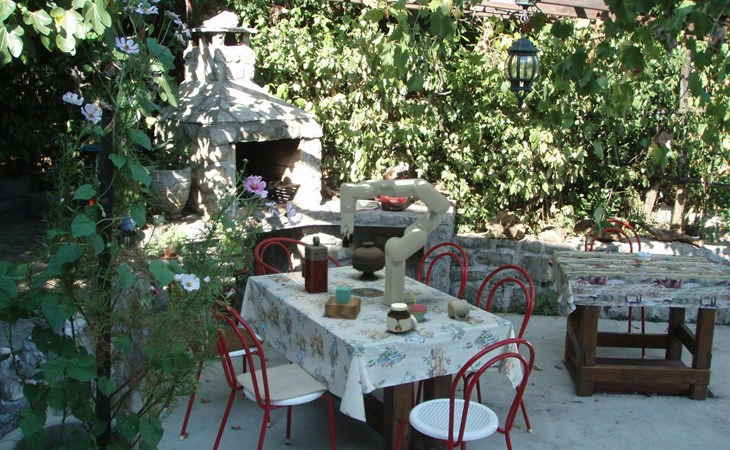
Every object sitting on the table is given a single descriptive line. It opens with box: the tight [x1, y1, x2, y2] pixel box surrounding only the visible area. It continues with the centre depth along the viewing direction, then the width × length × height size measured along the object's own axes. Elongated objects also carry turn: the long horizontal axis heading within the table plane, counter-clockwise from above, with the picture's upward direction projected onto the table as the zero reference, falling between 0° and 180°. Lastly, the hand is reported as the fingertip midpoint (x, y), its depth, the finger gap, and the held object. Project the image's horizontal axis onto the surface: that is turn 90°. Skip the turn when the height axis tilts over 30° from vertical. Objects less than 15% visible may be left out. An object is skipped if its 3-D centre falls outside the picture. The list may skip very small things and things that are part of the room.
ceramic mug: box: [446, 299, 470, 321], centre depth 349 cm, size 11×8×8 cm
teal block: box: [335, 285, 352, 303], centre depth 351 cm, size 6×6×6 cm
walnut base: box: [324, 295, 362, 320], centre depth 353 cm, size 14×14×6 cm
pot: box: [351, 241, 385, 282], centre depth 415 cm, size 18×18×20 cm
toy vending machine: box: [301, 235, 329, 295], centre depth 388 cm, size 9×11×28 cm
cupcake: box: [407, 295, 428, 322], centre depth 345 cm, size 9×8×12 cm
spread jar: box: [386, 303, 419, 335], centre depth 329 cm, size 12×11×12 cm
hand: (347, 245), depth 365 cm, fingers open, 9 cm apart
